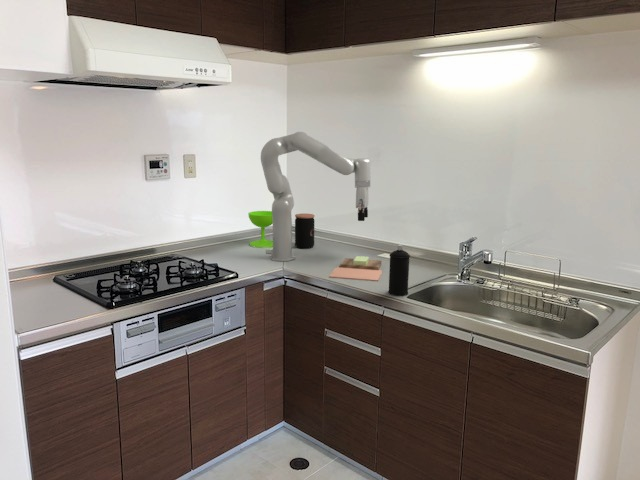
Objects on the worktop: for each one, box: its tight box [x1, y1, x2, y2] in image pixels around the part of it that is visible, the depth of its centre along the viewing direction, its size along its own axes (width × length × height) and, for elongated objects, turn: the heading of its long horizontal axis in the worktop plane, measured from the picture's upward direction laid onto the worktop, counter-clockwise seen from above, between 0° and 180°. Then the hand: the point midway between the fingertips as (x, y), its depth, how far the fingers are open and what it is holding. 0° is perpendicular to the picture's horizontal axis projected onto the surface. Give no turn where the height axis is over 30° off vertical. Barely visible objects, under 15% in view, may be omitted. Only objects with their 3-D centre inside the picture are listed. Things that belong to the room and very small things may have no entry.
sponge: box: [353, 255, 370, 266], centre depth 250 cm, size 6×9×2 cm, turn 166°
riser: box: [340, 257, 382, 270], centre depth 251 cm, size 18×12×2 cm, turn 76°
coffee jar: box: [294, 213, 315, 250], centre depth 288 cm, size 11×11×18 cm
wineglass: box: [248, 210, 273, 248], centre depth 292 cm, size 16×16×18 cm
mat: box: [328, 266, 383, 282], centre depth 238 cm, size 22×16×1 cm
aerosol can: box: [387, 244, 411, 297], centre depth 210 cm, size 8×8×20 cm
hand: (362, 219), depth 256 cm, fingers open, 9 cm apart
